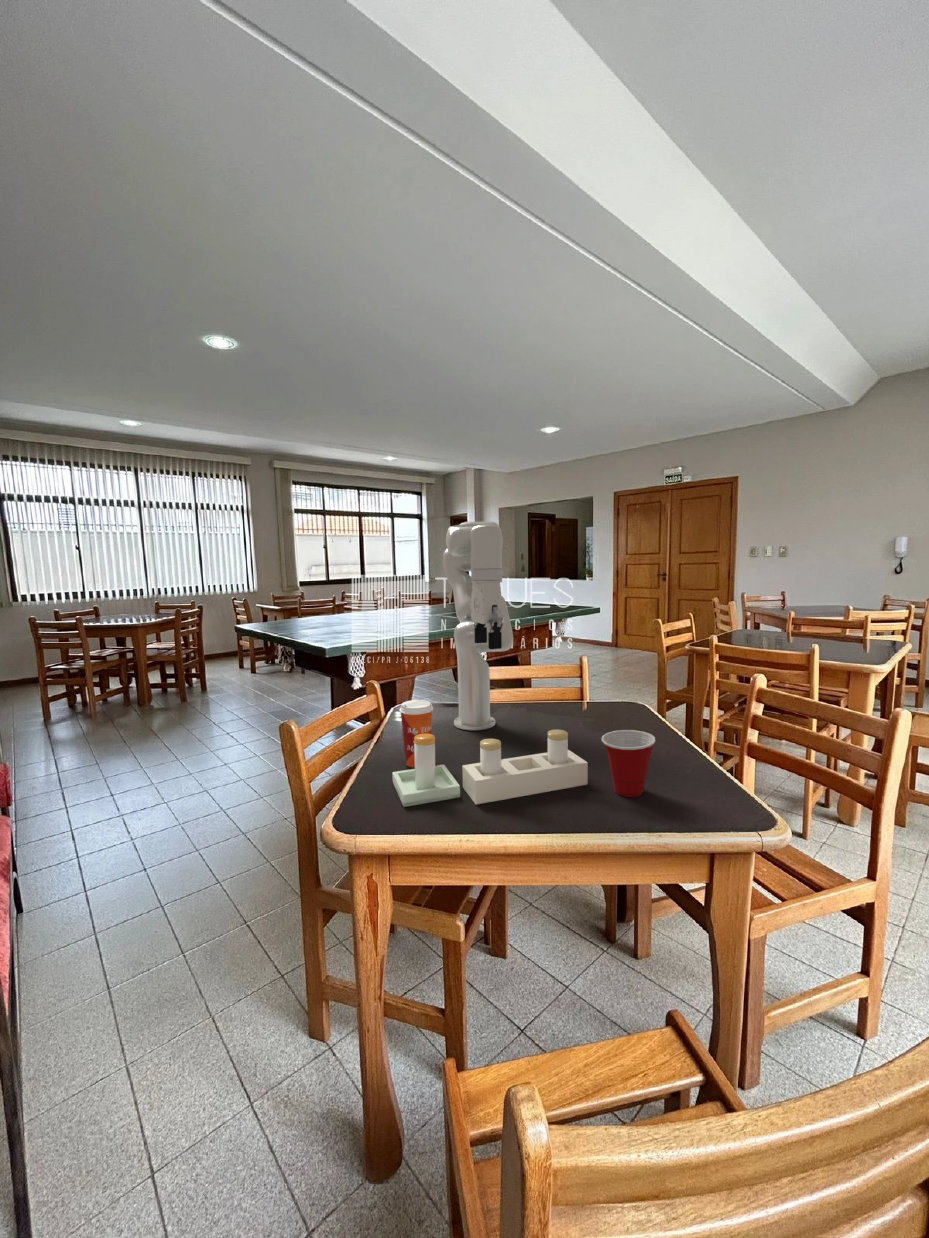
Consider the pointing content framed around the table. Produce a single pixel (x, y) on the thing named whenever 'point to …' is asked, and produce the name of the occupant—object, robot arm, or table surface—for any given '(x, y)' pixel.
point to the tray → (411, 796)
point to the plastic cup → (628, 760)
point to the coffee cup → (414, 725)
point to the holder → (524, 777)
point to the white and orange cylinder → (424, 761)
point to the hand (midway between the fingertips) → (487, 645)
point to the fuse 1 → (490, 757)
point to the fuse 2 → (557, 747)
